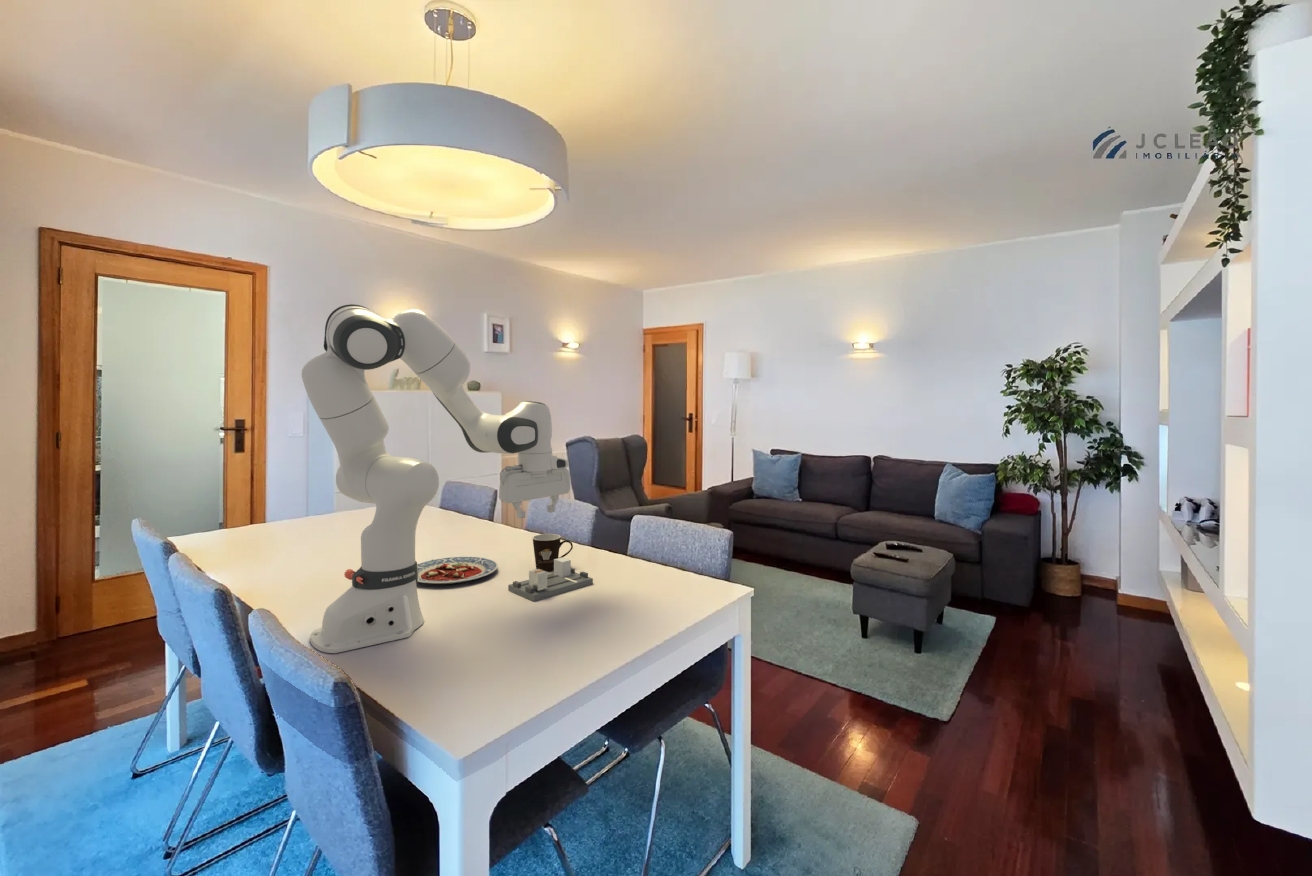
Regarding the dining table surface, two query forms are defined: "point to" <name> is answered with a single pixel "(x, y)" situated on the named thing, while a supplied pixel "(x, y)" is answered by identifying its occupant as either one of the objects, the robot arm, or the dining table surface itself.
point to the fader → (538, 579)
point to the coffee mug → (547, 550)
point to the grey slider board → (553, 582)
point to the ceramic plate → (454, 570)
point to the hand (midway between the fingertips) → (536, 514)
